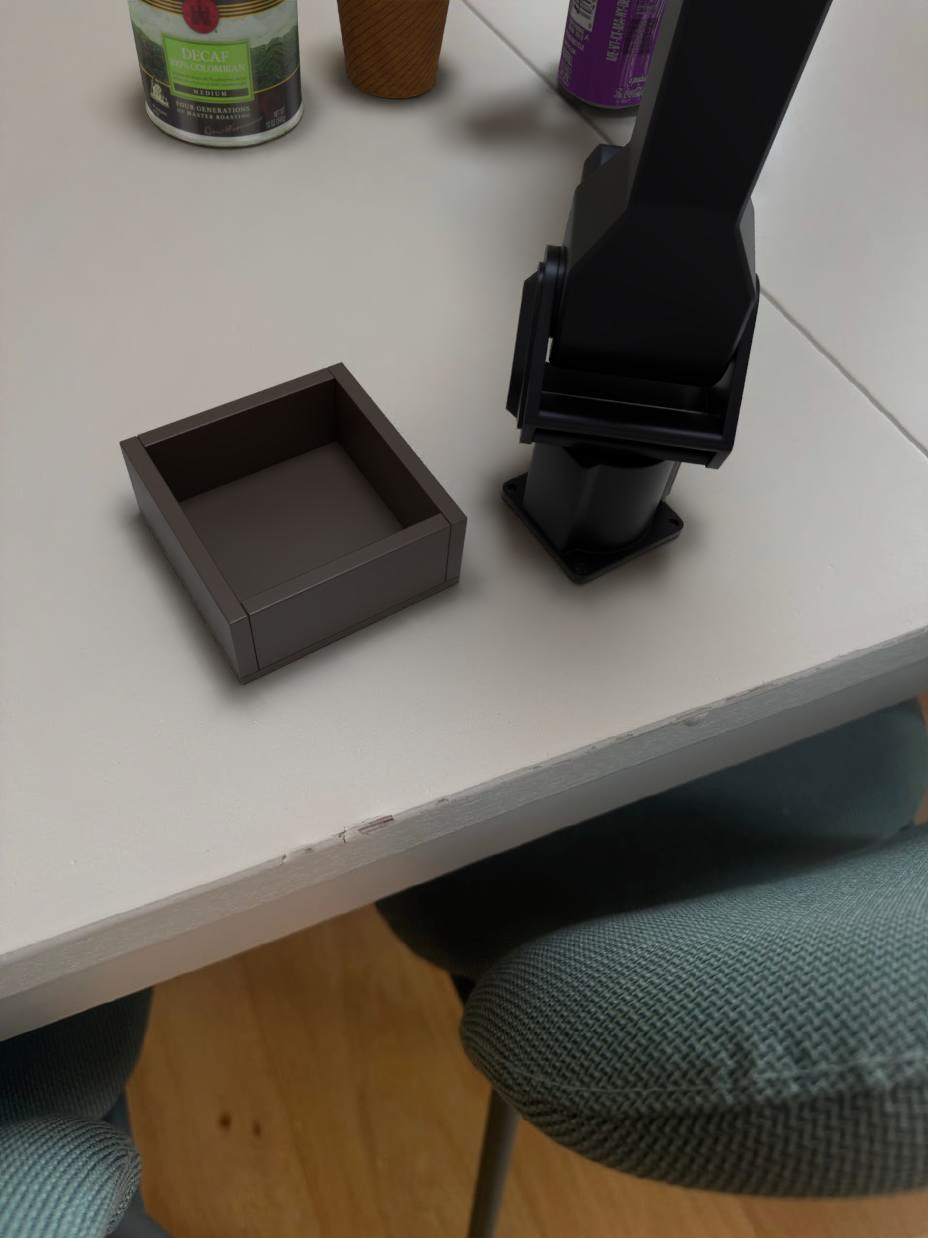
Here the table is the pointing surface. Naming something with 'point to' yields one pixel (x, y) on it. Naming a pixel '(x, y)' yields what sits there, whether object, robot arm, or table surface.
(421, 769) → the table surface
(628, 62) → the beverage can
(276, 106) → the coffee can
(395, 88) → the disposable coffee cup
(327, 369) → the open box
